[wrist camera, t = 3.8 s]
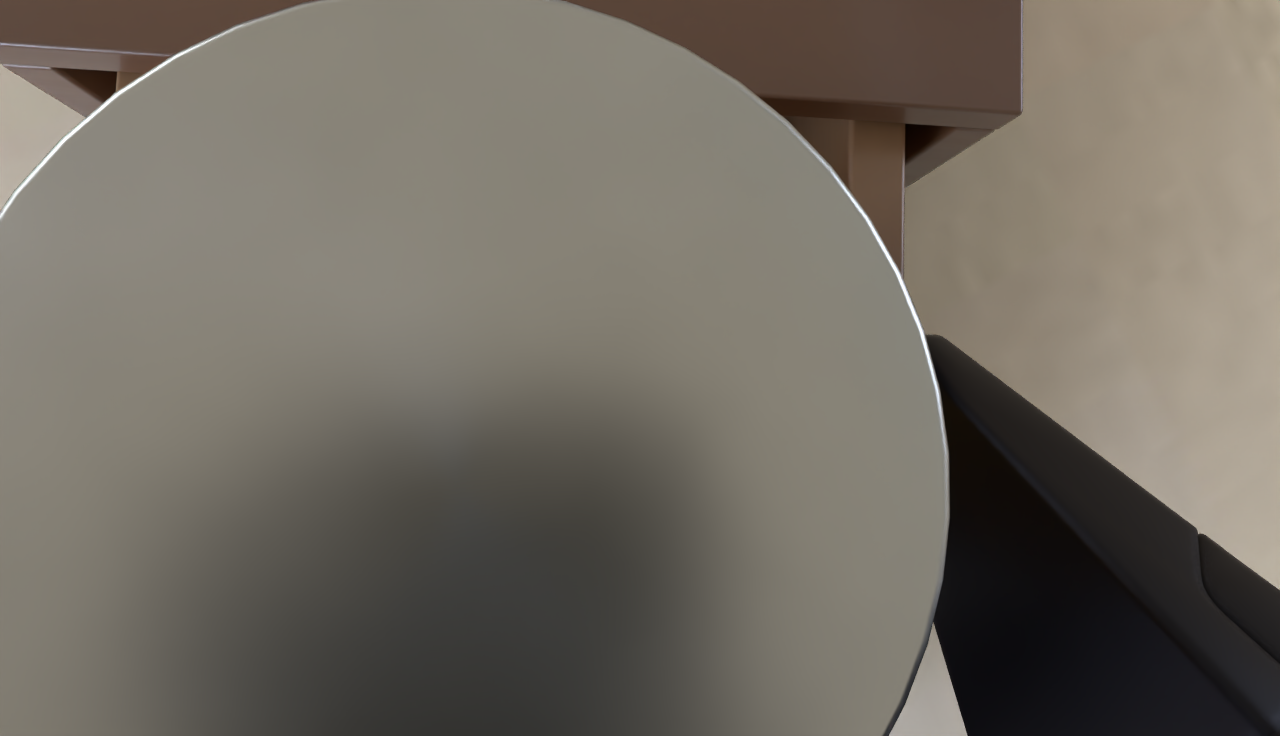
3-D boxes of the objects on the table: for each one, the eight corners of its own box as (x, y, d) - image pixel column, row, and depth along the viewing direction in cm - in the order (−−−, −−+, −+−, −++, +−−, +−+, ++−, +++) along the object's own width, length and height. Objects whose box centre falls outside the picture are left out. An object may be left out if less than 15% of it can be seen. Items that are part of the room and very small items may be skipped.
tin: (541, 638, 14) (495, 1257, 4) (319, 444, 14) (-370, 542, 4) (731, 418, 15) (1143, 439, 4) (520, 229, 15) (424, -224, 4)
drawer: (802, 936, 15) (939, 1233, 10) (204, 959, 14) (-21, 1308, 9) (815, 102, 16) (948, -57, 11) (253, 64, 15) (78, -134, 10)
